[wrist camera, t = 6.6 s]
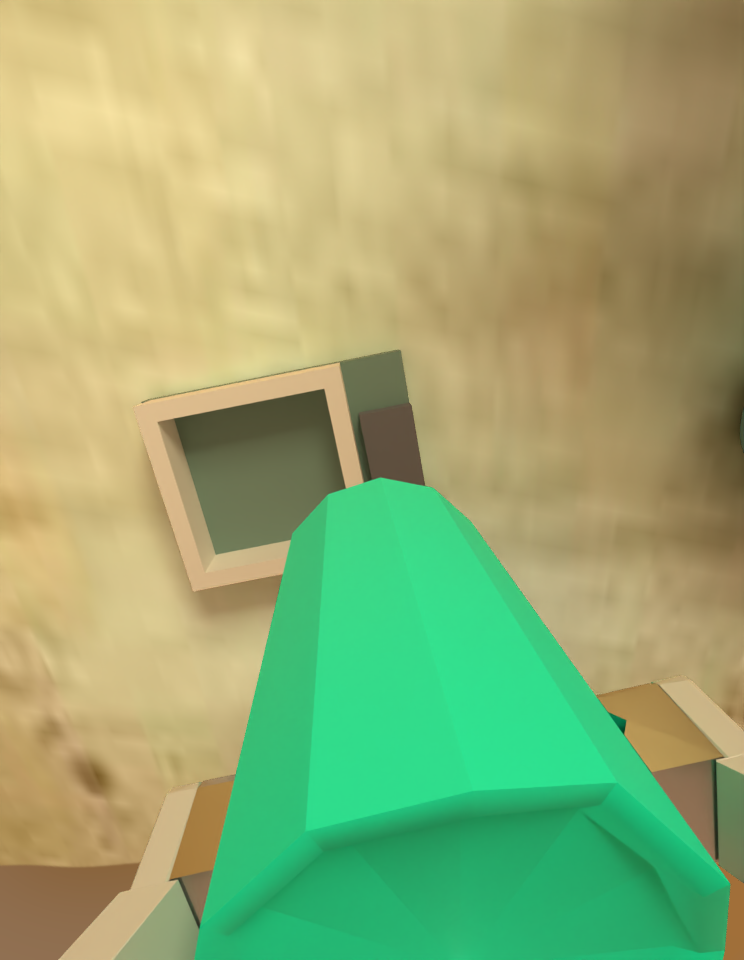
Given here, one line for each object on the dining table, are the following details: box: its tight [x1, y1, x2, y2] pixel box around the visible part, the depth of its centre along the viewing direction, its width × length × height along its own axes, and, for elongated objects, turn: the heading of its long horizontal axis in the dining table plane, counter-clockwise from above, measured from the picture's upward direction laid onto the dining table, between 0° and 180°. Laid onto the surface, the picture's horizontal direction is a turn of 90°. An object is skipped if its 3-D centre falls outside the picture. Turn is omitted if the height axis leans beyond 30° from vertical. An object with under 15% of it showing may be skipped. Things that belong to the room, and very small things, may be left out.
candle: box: [194, 477, 730, 960], centre depth 10 cm, size 6×6×12 cm
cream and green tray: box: [133, 350, 425, 591], centre depth 30 cm, size 15×11×4 cm
